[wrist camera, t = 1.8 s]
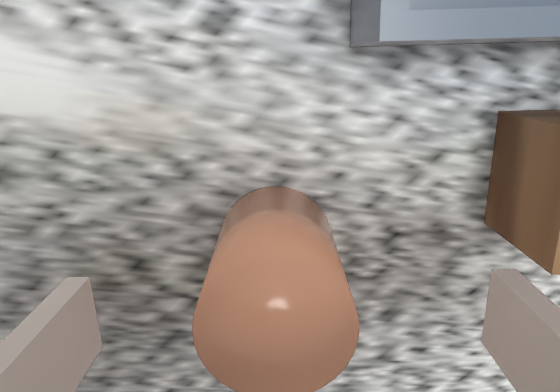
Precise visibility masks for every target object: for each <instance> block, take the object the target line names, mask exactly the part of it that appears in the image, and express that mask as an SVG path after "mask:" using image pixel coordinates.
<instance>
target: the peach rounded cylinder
mask: <svg viewBox="0 0 560 392" xmlns="http://www.w3.org/2000/svg"><path fill="white" fill-rule="evenodd" d="M192 334H193V340H194V345H195V348H196V351H197V354H198V355H199V357H200V359H201V361H202V363H203V364H204V366H205V367H206V368H207V370H208V371H209V372H210V373H211V374H212V375H213V376H214V377H215V378H216V379H218V380H219V381H220V382H221V383H223V384H224V385H226V386H227V387H229V388H231V389H233V390H235V391H237V392H314V391H316V390H318V389H320V388H322V387H323V386H325V385H327V384H328V383H329V382H331V381H332V380H334V379H335V378H336V377H337V376H338V375H339V374H340V373H341V372H342V371H343V369H344V368H345V367H346V366H347V364H348V363H349V361H350V359H351V358H352V356H353V354H354V351H355V349H356V346H357V342H358V336H359V319H358V314H357V310H356V307H355V304H354V301H353V298H352V295H351V292H350V288H349V285H348V282H347V279H346V276H345V273H344V270H343V267H342V264H341V261H340V258H339V255H338V252H337V249H336V246H335V242H334V239H333V236H332V233H331V230H330V227H329V224H328V221H327V219H326V216H325V214H324V213H323V211H322V210H321V208H320V207H319V206H318V205H317V204H316V202H315V201H313V200H312V199H311V198H310V197H308V196H307V195H305V194H303V193H302V192H299V191H297V190H294V189H291V188H286V187H275V186H274V187H265V188H260V189H257V190H255V191H252V192H250V193H248V194H246V195H245V196H243V197H242V198H240V199H239V200H238V201H237V202H236V203H235V204H234V205H233V206H232V207H231V209H230V210H229V212H228V213H227V215H226V217H225V219H224V222H223V225H222V228H221V231H220V234H219V237H218V241H217V244H216V247H215V250H214V253H213V256H212V259H211V262H210V265H209V268H208V272H207V275H206V278H205V281H204V284H203V287H202V290H201V293H200V296H199V299H198V303H197V306H196V309H195V312H194V316H193V324H192Z"/></svg>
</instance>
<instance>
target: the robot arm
mask: <svg viewBox="0 0 560 392" xmlns="http://www.w3.org/2000/svg"><path fill="white" fill-rule="evenodd" d="M481 342H482V343H483V345H484V346H485V347H486V349H487V350H488V352H489V353H490V354H491V356H492V357H493V359H494V360H495V362H496V363H497V364H498V366H499V367H500V369H501V370H502V371H503V373H504V374H505V376H506V377H507V379H508V380H509V381H510V383H511V384H512V386H513V387H514V388H515V390H516V391H517V392H560V308H559V307H557V306H556V305H555V304H554V303H553V302H552V301H551V300H550V299H548V298H547V297H546V296H545V295H544V294H543V293H542V292H541V291H540V290H538V289H537V288H536V287H535V286H534V285H533V284H532V283H531V282H529V281H528V280H527V279H526V278H525V277H524V276H523V275H522V274H521V273H519V272H518V271H517V270H516V269H491V275H490V283H489V290H488V297H487V304H486V312H485V319H484V326H483V333H482V341H481ZM102 348H103V347H102V342H101V336H100V331H99V325H98V320H97V314H96V309H95V303H94V298H93V292H92V287H91V281H90V277H66V278H65V279H64V280H63V281H62V282H61V283H60V284H59V285H58V286H57V287H56V288H55V289H54V290H53V291H52V292H51V293H50V294H49V295H48V296H47V297H46V298H45V299H44V300H43V301H42V302H41V303H40V304H39V305H38V306H37V307H36V308H35V309H34V310H33V311H32V312H31V313H30V314H29V315H28V316H27V317H26V318H25V319H24V320H23V321H22V322H21V323H20V324H19V325H18V326H17V327H16V328H15V329H14V330H13V331H12V332H11V333H10V334H9V335H8V336H7V337H6V338H5V339H3V340H2V341H1V342H0V392H74V391H75V390H76V388H77V387H78V385H79V384H80V382H81V380H82V379H83V377H84V376H85V374H86V373H87V371H88V369H89V368H90V366H91V365H92V363H93V362H94V360H95V359H96V357H97V355H98V354H99V352H100V351H101V349H102Z"/></svg>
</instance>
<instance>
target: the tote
mask: <svg viewBox="0 0 560 392" xmlns="http://www.w3.org/2000/svg"><path fill="white" fill-rule="evenodd" d="M550 41H560V0H351V22H350V47H372V46H408V45H443V44H479V43H514V42H550Z"/></svg>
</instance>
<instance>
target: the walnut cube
mask: <svg viewBox="0 0 560 392" xmlns="http://www.w3.org/2000/svg"><path fill="white" fill-rule="evenodd" d="M484 223H485V224H487V225H488V226H489V227H490V228H492V229H493V230H494V231H496V232H497V233H498V234H499V235H501V236H502V237H503V238H505V239H506V240H507V241H509V242H510V243H511V244H512V245H514V246H515V247H516V248H518V249H519V250H520V251H522V252H523V253H524V254H525V255H527V256H528V257H529V258H531V259H532V260H533V261H535V262H536V263H537V264H538V265H540V266H541V267H542V268H544V269H545V270H546V271H547V272H549V273H550V274H551V275H556V274H560V110H526V111H499V112H498V120H497V127H496V135H495V143H494V150H493V158H492V166H491V174H490V181H489V189H488V197H487V204H486V212H485V220H484Z"/></svg>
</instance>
